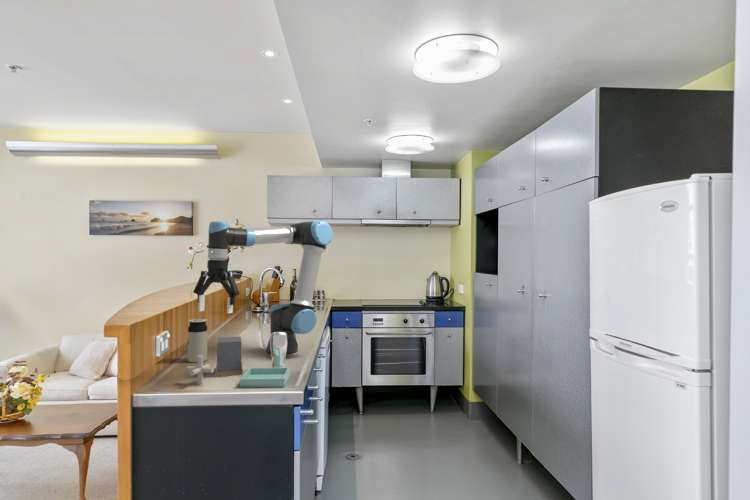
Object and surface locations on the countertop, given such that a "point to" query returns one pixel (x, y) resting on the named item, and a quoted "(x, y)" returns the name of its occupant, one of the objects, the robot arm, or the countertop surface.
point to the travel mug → (197, 339)
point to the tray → (265, 377)
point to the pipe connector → (200, 369)
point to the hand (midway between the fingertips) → (215, 312)
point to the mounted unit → (229, 357)
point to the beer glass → (278, 349)
